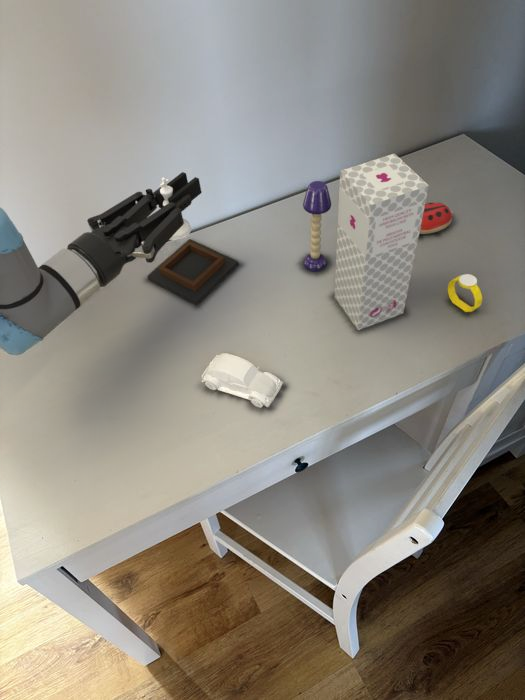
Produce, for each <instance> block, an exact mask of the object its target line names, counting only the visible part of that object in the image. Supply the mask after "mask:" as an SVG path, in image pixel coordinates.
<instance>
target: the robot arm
mask: <svg viewBox="0 0 525 700" xmlns="http://www.w3.org/2000/svg"><path fill="white" fill-rule="evenodd" d="M187 177H188V176H187V173H186V172H185V171H182V172H180V173H179V174H178V175H177V176H175V177H174V178H173V179H171V180H169V183H168V184H167V186H170V187H172V189H173V193H172V196H171V197H169V198H168V202H169V203H168V204H167V205H165V206H163V201H164V200H165V199H164V197H163V196H162V195H161V193H160V189H161V187H160V186H159V188H157V189H155V191H154V190H153V189H151V188H147V189H145V193H146V194H144V193H143V191H136V192H134V193H133V194H132V195H129V196H128V197H126V198H124V199H123V200H122V201H119V202H118V203H117V204H115V205H114V206H112V207H110V208H108V209H107V210H105V211H104V212H102V213H100V214H97V215H94V216H92V217H89V218H88V219H87V224H88V226H89V229H90V231H91V232H89V231H87V232H84V233H82V234H81V235H79V236H78V237H77V238H75V239H74V240H72V241H71V242H70V243H69V244H67V247H66V248H61V249H60V250H58V252H56V253H54V254H53V255H52V256H51V257H50V258H48V259H47V260H46V261H44V262H43V263H42V264H40V266H38V265H37V263H36V261H35V259H34V257H33V256H32V253H31V251H30V250H29V247H28V246H27V244H26V242H25V240H24V236H23V235H22V233H21V232H20V231H19V229H17V227H16V225H15V224H14V222H13V221H12V220H11V218H10V217H9V215H8V213H7V212H6V211H5V210H4V208H2V207H0V349H1V350H3V351H4V352H6V353H7V354H9V355H10V356H11V355H12V356H21V355H23V354H25V352H27V351H28V350H30V349H32V347H35V346H36V345H37V344H38V343H40V342H42V341H43V340H45V339H44V338H46V337H47V336H48V335H49V334H50V333H51V332H52V331H54V329H56V328H57V327H58V326H59V325H60V324H62V323H63V322H64V321H65V320H66V319H68V318H69V317H70V316H71V315H72V314H73V313H75V312H76V311H77V310H78V309H80V308H81V307H82V306H83V305H84V304H85V303H87V302H88V301H89V300H90V299H91V298H92V297H94V296H95V295H96V294H97V293H98V292H100V289H101V288H105V287H107V286H108V285H109V284H110V283H111V282H112V281H113V280H115V279H116V278H117V277H118V276H119V275H120V274H121V272H122V269H123V267H124V266H125V265H126V264H129V263H130V262H133V261H135V260H136V258H138V259H145V261H146V263H150V264H151V263H153V262H154V261H155V259H156V256H157V255H158V252H159V251H161V249H162V248H163V247H164V246H165V245H166V244H167V243H168V242H169V241H170V240H169V239H170V238H171V237H172V236H173V235H174V234H175V233H176V232H177V231H178V230H179V229H180V227H181V226H182V225H183V224H184V221H183V219H184V217H183V214H182V213H183V212H184V211H185V210H186V209H187V208H188V207H190V206H191V205H192V203H193V201H194V200H195V199H196V198H198V196H200V195H201V194H202V193H203V192H202V188H201V183H200V182H201V181H200V178H199V177H196V176H194V177H193V178H192V179H191V180H189V181H188V178H187ZM158 208H159V209H158ZM157 209H158V210H157Z"/></svg>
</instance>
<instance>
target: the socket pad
mask: <svg viewBox="0 0 525 700" xmlns="http://www.w3.org/2000/svg"><path fill="white" fill-rule="evenodd" d="M239 265H240V264H239V261H238V260H237V259H234V258H232V257H230V256H228V255H225V254H223V253H221V252H219V251H217V250H215V249H213V248H210V247H209V246H206V245H204V244H202V243H200V242H197V241H195V240H193V239H191V238H189V239H188V240H187V241H186V242H184V243H183V244H182V245H181V246H180V247H178V248H177V249H176V250H175V251H174V252H173V253H171V254H170V256H168V257H167V258H166V259H165V260H164V261H163V262H161V263H160V264H159V265H158V266H157V267H156V268H155V269H153V270H152V271H151V272H150V273H149V274H148V275H147V280H148V281H150V282H152V283H154V284H156V285H158V286H160V287H161V288H163V289H166V290H167V291H169V292H171V293H173V294H175V295H176V296H178V297H179V298H182V299H184V300H186V301H188V302H190V303H192V304H193V305H196V306H198V305H199V304H200V303H201V302H202V301H203V300H205V298H206V297H207V296H208V295H210V293H211V292H213V290H215V289H216V288H217V287H218V286H219V285H220V284H221V283H222V282H223V281H224V280H225V279H226V278H227V277H228V276H229V275H230V274H231V273H232V272H233V271H234V270H235V269H237V267H238V266H239Z"/></svg>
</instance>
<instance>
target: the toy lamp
mask: <svg viewBox="0 0 525 700" xmlns="http://www.w3.org/2000/svg"><path fill="white" fill-rule="evenodd" d="M330 195H331V194H330V192H329V187H328V185H327V183H326V182H325V181H322V180H314V181H312V182H310V183H309V184H308V185H307V188H306V192H305V195H304V199H303V203H302V207H303V209H304V210H305V212H307V213H308V214H311V216H310V220H311V223H310V228H311V229H310V236H311V237H310V253H308V254H307V255H306V256H305V257H304V259H303V264H302V265H303V267H304V268H305V269H306V270H307V271H309V272H321V271H322V270H325V268H326V267H327V263H328V262H327V259H326V257H325V255H323V254H322V253H321V245H322V244H321V241H322V237H321V235H322V230H321V228H322V220H323V219H322V218H323V217H322V215H323V214H326V213H327V212H329V211H330V210H331V208H332V201H331V200H332V199H331V196H330Z"/></svg>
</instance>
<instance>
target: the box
mask: <svg viewBox="0 0 525 700" xmlns="http://www.w3.org/2000/svg"><path fill="white" fill-rule="evenodd" d="M429 187H430V185H429V184H428V183H427V182H426V181H425V180H424V179H422V178H421V176H419V175H418V174H417V173H416V172H415V171H414V170H413V169H412V168H411V167H410V166H408V164H406V163H405V162H404V161H403V160H402V159H401V158H400V157H399V156H398V155H397V154H396V153H391V154H388V155H384V156H382V157H379V158H375V159H371V160H369V161H365V162H363V163H360V164H357V165H354V166H353V165H352V166H351V167H347V168H344V169H341V170H339V187H338V189H339V190H338V210H337V229H336V230H337V231H336V232H337V233H336V251H335V252H336V254H335V275H334V276H335V278H334V299H335V300H336V302H338V304H339V305H340V307H341V308H342V310H343V311H344V313H345V314H346V315H347V317H348V318H349V320H350V321H351V322H352V324H353V325H354V326H355V328H356V329H357V330H358V331H361V330H364V329H367V328H369V327H371V326H374V325H376V324H379V323H382V322H384V321H386V320H389V319H392V318H395V317H397V316H400V315H402V314H404V312H405V308H406V302H407V297H408V292H409V287H410V282H411V278H412V277H411V276H412V271H413V267H414V263H415V262H414V261H415V256H416V251H417V247H418V241H419V236H420V234H419V232H420V227H421V222H422V217H423V212H424V207H425V204H426V202H427V196H428V193H429V192H428V191H429Z"/></svg>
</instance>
